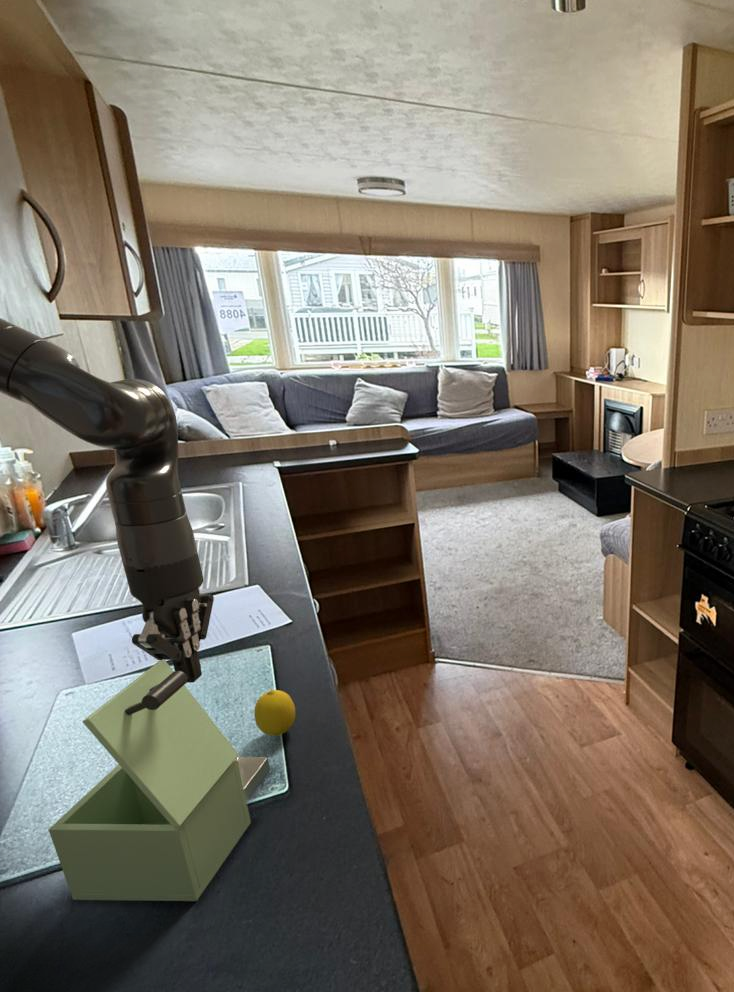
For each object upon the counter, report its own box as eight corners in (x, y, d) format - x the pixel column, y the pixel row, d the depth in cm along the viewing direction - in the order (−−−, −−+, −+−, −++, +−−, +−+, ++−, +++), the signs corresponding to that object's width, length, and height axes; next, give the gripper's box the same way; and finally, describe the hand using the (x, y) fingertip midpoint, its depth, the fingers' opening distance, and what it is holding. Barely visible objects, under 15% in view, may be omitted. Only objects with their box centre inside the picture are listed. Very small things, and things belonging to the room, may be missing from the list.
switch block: (157, 809, 85) (150, 784, 84) (193, 769, 93) (187, 745, 91) (241, 810, 85) (235, 785, 84) (270, 769, 93) (265, 746, 91)
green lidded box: (72, 900, 72) (47, 829, 69) (143, 821, 83) (125, 757, 80) (196, 901, 72) (177, 830, 69) (251, 822, 83) (237, 758, 80)
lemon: (261, 751, 97) (252, 705, 94) (257, 731, 101) (248, 687, 98) (301, 739, 99) (293, 694, 97) (296, 720, 104) (288, 677, 101)
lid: (81, 721, 64) (121, 703, 63) (158, 661, 75) (193, 645, 74) (173, 828, 69) (212, 812, 68) (233, 756, 80) (267, 742, 79)
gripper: (164, 534, 83) (192, 653, 89) (87, 574, 71) (125, 709, 77) (222, 535, 83) (246, 654, 89) (155, 574, 71) (188, 709, 77)
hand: (190, 679), depth 83 cm, fingers closed
